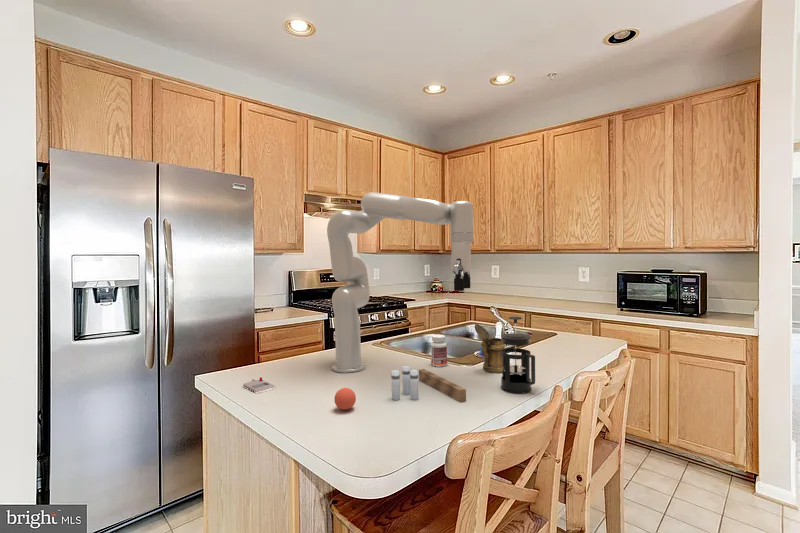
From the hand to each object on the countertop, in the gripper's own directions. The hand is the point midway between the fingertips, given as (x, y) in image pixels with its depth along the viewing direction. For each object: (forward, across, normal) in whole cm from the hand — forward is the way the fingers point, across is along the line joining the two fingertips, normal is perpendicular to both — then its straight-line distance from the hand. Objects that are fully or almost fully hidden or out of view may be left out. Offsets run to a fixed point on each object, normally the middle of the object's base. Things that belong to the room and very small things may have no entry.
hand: (462, 289), depth 137 cm
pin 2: (+31, +21, -10) cm, 39 cm away
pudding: (+32, -37, +2) cm, 49 cm away
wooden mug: (+31, -14, +7) cm, 35 cm away
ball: (+28, +35, -26) cm, 52 cm away
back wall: (+31, +11, -5) cm, 33 cm away
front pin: (+31, +23, -15) cm, 42 cm away
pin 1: (+31, +18, -14) cm, 38 cm away
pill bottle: (+31, -16, -13) cm, 38 cm away
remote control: (+32, +28, -63) cm, 76 cm away
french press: (+31, +3, +18) cm, 36 cm away
